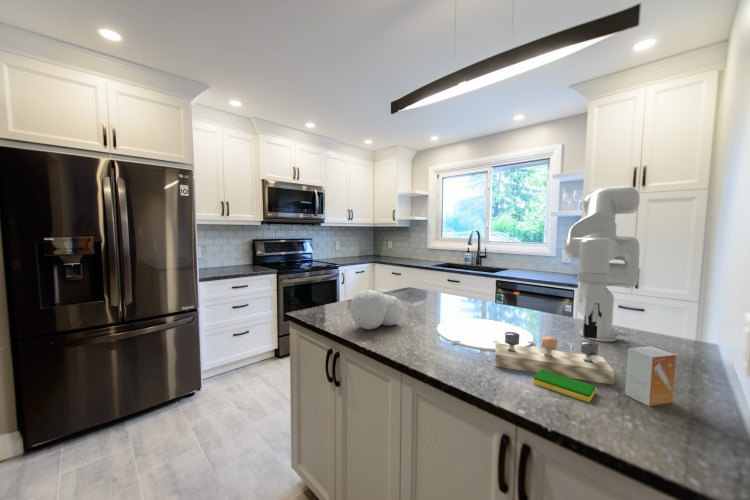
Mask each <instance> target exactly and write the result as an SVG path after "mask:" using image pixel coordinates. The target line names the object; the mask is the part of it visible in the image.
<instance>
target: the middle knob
mask: <svg viewBox="0 0 750 500" xmlns="http://www.w3.org/2000/svg"><path fill="white" fill-rule="evenodd" d="M540 345H541V346H540V347H541V348H542V349H546V357H551V354H552V350H553V351H557V349H558V338H556V337H554V336H552V335H542V336H541V342H540Z"/></svg>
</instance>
